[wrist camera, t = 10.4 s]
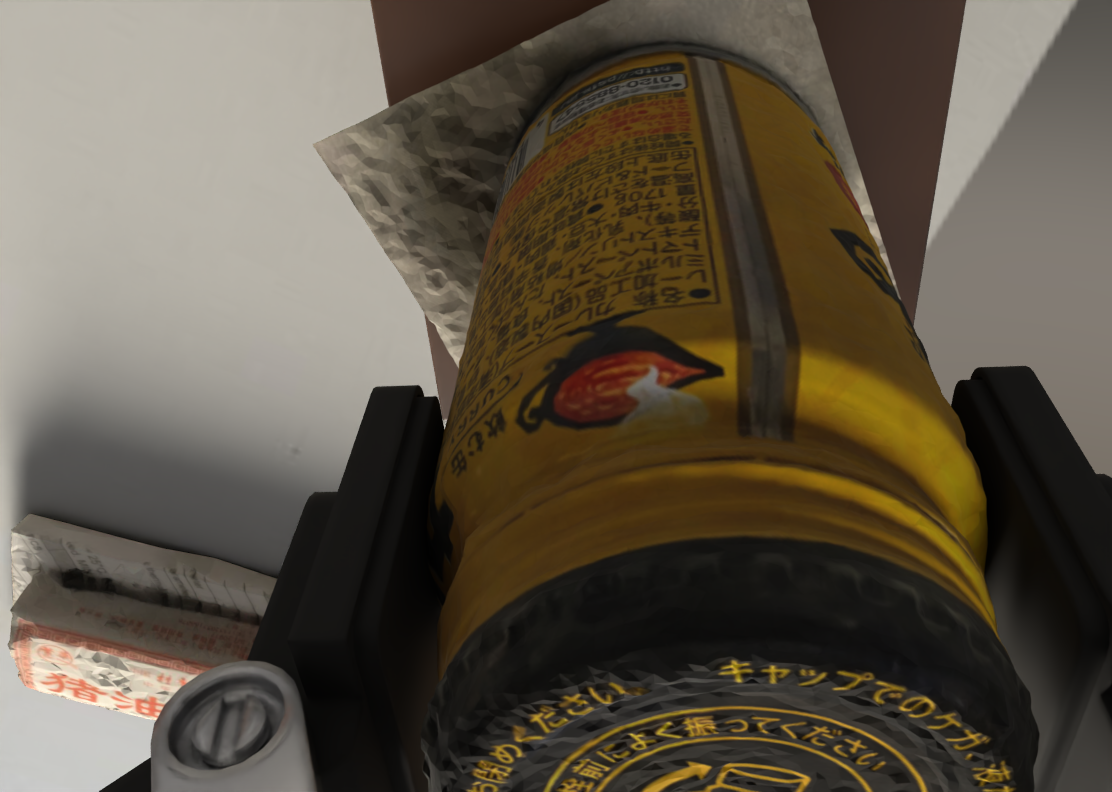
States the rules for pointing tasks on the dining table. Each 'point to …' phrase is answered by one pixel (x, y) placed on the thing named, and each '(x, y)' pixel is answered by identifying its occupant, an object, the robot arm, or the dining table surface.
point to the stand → (853, 62)
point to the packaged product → (124, 615)
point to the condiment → (683, 428)
